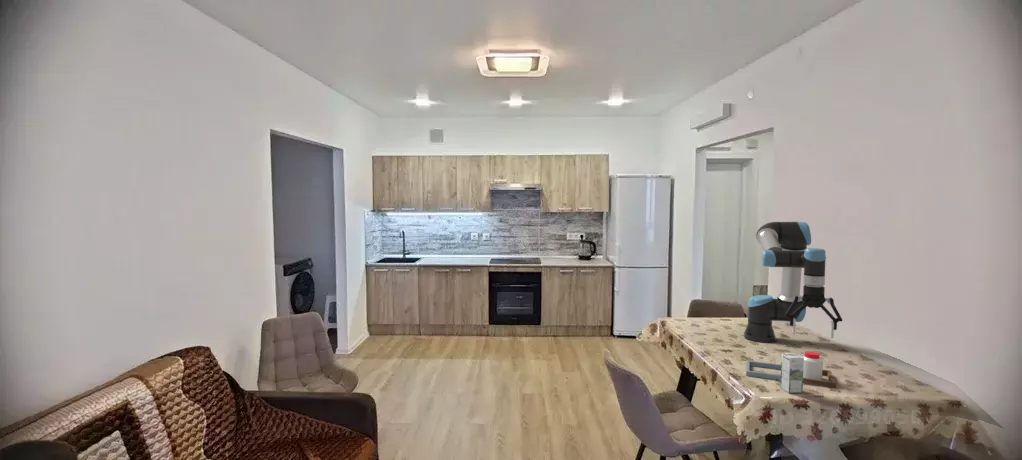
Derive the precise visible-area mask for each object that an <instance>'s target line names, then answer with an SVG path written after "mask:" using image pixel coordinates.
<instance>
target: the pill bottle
mask: <svg viewBox="0 0 1022 460" xmlns="http://www.w3.org/2000/svg"><path fill="white" fill-rule="evenodd" d="M803 353H804V355H801V356H802V357H803V358H804V370H803V378H809V379H816V380H823V375H822V370H823V367H824V364H823V361H824V360H823V359H822V358H821V356H820V355H821V354H820V352H816V351H812V350H811V351H810V350H806V351H804V352H803Z"/></svg>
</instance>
